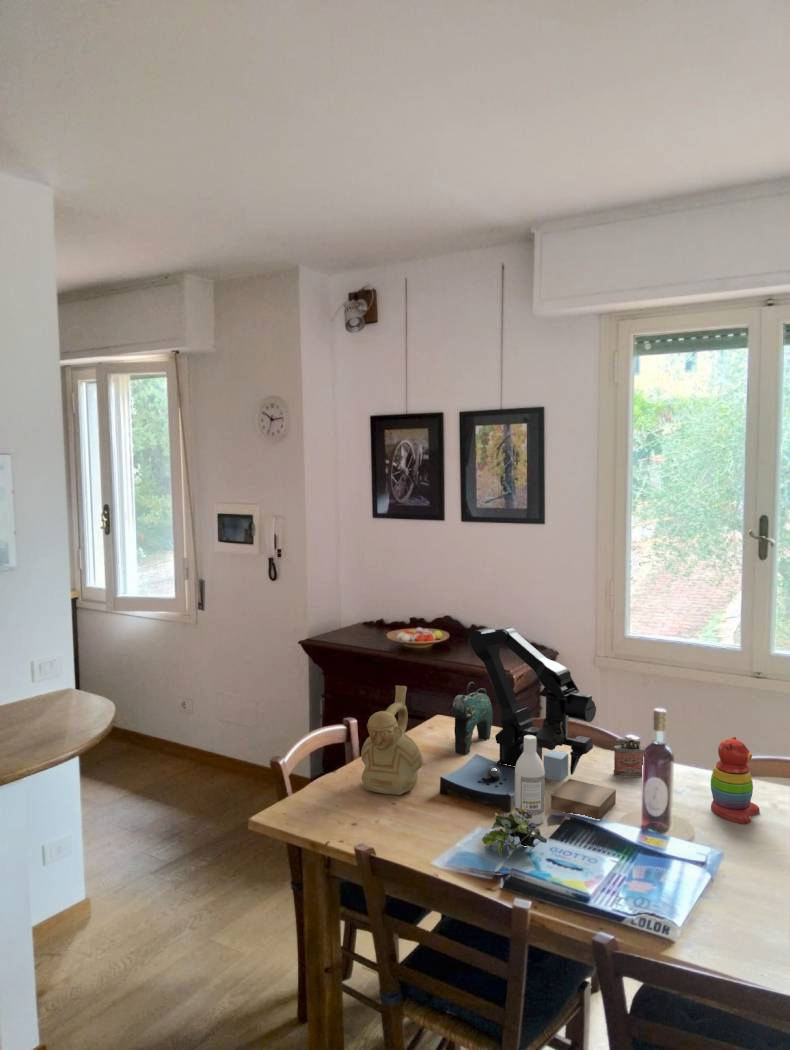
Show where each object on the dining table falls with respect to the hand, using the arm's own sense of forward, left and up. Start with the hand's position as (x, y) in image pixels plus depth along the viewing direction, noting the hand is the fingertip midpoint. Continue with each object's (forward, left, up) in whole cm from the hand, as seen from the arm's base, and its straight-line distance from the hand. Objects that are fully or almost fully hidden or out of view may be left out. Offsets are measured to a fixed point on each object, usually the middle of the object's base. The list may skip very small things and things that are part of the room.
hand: (555, 770), depth 209 cm
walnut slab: (+13, -14, -2) cm, 19 cm away
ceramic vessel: (-33, -30, -2) cm, 45 cm away
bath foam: (+5, -28, -2) cm, 28 cm away
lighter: (+16, +12, -2) cm, 20 cm away
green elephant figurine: (-30, +8, -2) cm, 31 cm away
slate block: (0, 0, -2) cm, 2 cm away
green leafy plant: (+9, -45, -2) cm, 46 cm away
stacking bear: (+44, +3, -2) cm, 44 cm away
